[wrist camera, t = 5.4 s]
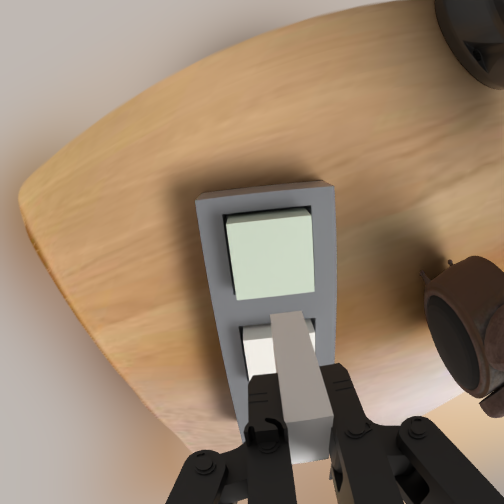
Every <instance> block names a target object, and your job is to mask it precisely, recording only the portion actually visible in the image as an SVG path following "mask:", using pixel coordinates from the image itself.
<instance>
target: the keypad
mask: <svg viewBox="0 0 504 504" xmlns="http://www.w3.org/2000/svg"><path fill="white" fill-rule="evenodd" d="M195 205H196V211H197V218H198V224H199V231H200V237H201V243H202V249H203V255H204V261H205V266H206V272H207V278H208V283H209V289H210V294H211V300H212V305H213V310H214V315H215V321H216V326H217V331H218V336H219V341H220V345H221V350H222V355H223V360H224V365H225V369H226V374H227V378H228V383H229V387H230V392H231V396H232V401H233V405H234V409H235V414H236V418H237V422H238V426H239V430H240V434H241V438H242V442H243V443H244V442H245V437H244V433H243V432H244V428H245V426H246V424H247V423H248V383H249V375H248V369H247V363H246V356H245V350H244V344H243V326H247V325H257V324H267V323H271V318H270V314H278V313H286V312H294V311H302V313H303V317H304V319H309V318H310V319H311V322H312V325H313V328H314V330H315V355H316V358H317V361H318V364H319V366H324V365H330V364H334V359H335V338H336V305H337V246H336V212H335V191H334V186H333V185H331V184H329V183H327V182H325V181H323V180H322V181H309V182H297V183H286V184H275V185H265V186H256V187H247V188H238V189H229V190H221V191H213V192H206V193H201V194H200V196H199V197H198V198H197V199H196V200H195ZM293 208H305V209H306V210H307V211H308V212H309V213H310V214H311V218H312V237H313V259H314V289H315V292H308V293H300V294H291V295H283V296H274V297H265V298H255V299H245V300H237V298H236V291H235V284H234V277H233V270H232V263H231V256H230V249H229V242H228V235H227V227H226V223H227V219H228V215H236V214H245V213H254V212H264V211H273V210H283V209H293Z"/></svg>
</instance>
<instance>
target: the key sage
mask: <svg viewBox="0 0 504 504" xmlns="http://www.w3.org/2000/svg"><path fill="white" fill-rule="evenodd" d="M226 227H227V235H228V242H229V249H230V256H231V263H232V270H233V277H234V284H235V291H236V298H237V300H245V299H255V298H265V297H274V296H283V295H291V294H300V293H308V292H315V289H314V259H313V237H312V218H311V214H310V213H309V212H308V211H307V210H306V209H305V208H293V209H283V210H273V211H264V212H254V213H245V214H236V215H228V219H227V223H226Z"/></svg>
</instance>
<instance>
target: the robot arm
mask: <svg viewBox="0 0 504 504" xmlns="http://www.w3.org/2000/svg"><path fill="white" fill-rule="evenodd" d="M435 9H436V15H437V19H438V22H439V25H440V28H441V30H442V33H443V35H444V37H445V39H446V41H447V43H448V45H449V46H450V48H451V50H452V51H453V53H454V54H455V56H456V57H457V59H458V60H459V61H460V62H461V64H462V65H463V66H464V67H465V68H466V70H467V71H468V72H469V73H470V74H471V75H472V76H474V77H475V78H476V79H477V80H478V81H480V82H481V83H483V84H484V85H486V86H488V87H490V88H493V89H499V90H502V89H504V0H435ZM270 318H271V328H272V339H273V349H274V359H275V367H276V373H271V374H262V375H253V376H252V378H251V380H250V381H249V383H248V423H247V424H246V426H245V428H244V432H243V433H244V437H245V442H244V443H243V444H242V445H241V446H239V447H238V448H236V449H234V450H231V451H228V452H225V453H222V454H219V453H218V452H215V451H212V450H201V451H197V452H195V453H193V454H191V455H190V456H189V457H188V458H187V460H186V461H185V463H184V465H183V467H182V469H181V472H180V474H179V476H178V478H177V480H176V482H175V484H174V487H173V489H172V491H171V493H170V495H169V497H168V499H167V501H166V503H165V504H237V502H238V501H240V500H243V499H246V498H248V504H297V501H296V493H295V485H294V477H293V470H292V464H298V463H305V462H311V461H318V460H323V459H328V458H329V454H330V458H331V462H332V464H331V469H330V478H329V479H330V480H331V479H332V478H333V483H334V487H335V492H336V496H337V501H338V504H404V502H405V503H406V504H504V497H503V496H502V495H501V494H500V493H499V492H498V491H497V490H496V489H495V488H494V486H493V485H492V484H491V483H490V482H489V481H488V480H487V479H486V478H485V477H484V476H483V475H482V474H481V473H480V471H478V469H477V468H476V467H475V466H474V465H473V464H472V463H471V462H470V461H469V460H468V459H467V458H466V457H465V455H463V453H462V452H461V451H460V450H459V449H458V448H457V447H456V446H455V445H454V444H453V443H452V442H451V441H450V440H449V439H448V438H447V437H446V436H445V434H444V433H443V432H442V431H441V430H440V429H439V428H438V427H437V426H436V425H435V424H434V423H433V422H432V421H431V420H429V419H428V418H425V417H422V416H413V417H410V418H407V419H406V420H405V421H404V422H402V424H401V426H384V425H378V424H375V423H373V422H372V421H371V420H369V419H368V418H367V417H366V415H365V413H364V411H363V408H362V406H361V403H360V401H359V398H358V396H357V393H356V391H355V388H354V386H353V383H352V381H351V378H350V376H349V373H348V371H347V369H345V368H344V367H343V366H342V365H341V364H340V363H336V364H330V365H324V366H319V364H318V361H317V358H316V355H315V352H314V348H313V345H312V342H311V339H310V335H309V332H308V329H307V326H306V323H305V320H304V317H303V313H302V311H294V312H286V313H278V314H270ZM403 500H404V502H403Z"/></svg>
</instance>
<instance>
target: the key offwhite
mask: <svg viewBox="0 0 504 504" xmlns="http://www.w3.org/2000/svg"><path fill="white" fill-rule="evenodd" d="M304 320H305V323H306V326H307V329H308V332H309V335H310V339H311V342H312V345H313V348H314V352H315V330H314V328H313V325H312V322H311V319H310V318H309V319H304ZM243 344H244V350H245V356H246V363H247V369H248V375H249V381H250V380H251V378H252V376H253V375H262V374H271V373H276V367H275V359H274V349H273V339H272V328H271V323H267V324H257V325H247V326H243Z"/></svg>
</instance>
